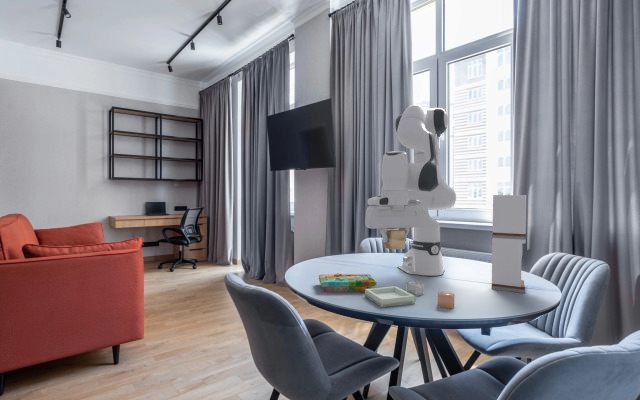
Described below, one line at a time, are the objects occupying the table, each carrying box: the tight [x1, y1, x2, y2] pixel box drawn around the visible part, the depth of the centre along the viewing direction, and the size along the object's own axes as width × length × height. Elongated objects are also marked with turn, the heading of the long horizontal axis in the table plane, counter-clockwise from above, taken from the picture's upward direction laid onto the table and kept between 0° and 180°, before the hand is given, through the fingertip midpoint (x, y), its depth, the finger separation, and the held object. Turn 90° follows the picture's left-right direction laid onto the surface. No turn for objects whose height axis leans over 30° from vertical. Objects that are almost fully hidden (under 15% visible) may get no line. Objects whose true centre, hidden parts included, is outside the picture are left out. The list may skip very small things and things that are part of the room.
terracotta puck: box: [437, 290, 456, 310], centre depth 110 cm, size 5×5×4 cm
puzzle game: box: [318, 273, 377, 293], centre depth 130 cm, size 12×5×20 cm
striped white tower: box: [491, 194, 527, 294], centre depth 131 cm, size 11×11×35 cm
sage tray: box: [364, 285, 416, 308], centre depth 116 cm, size 12×12×2 cm
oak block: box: [383, 228, 406, 251], centre depth 115 cm, size 5×5×6 cm
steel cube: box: [406, 281, 424, 298], centre depth 122 cm, size 4×4×4 cm
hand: (394, 241), depth 115 cm, fingers closed on oak block, 5 cm apart
